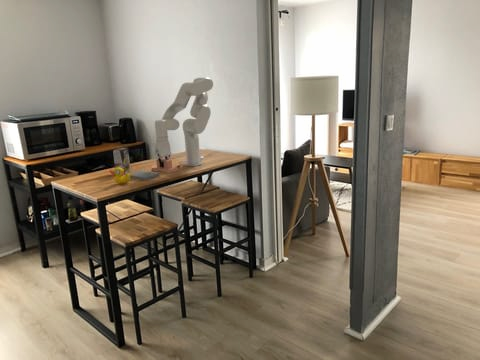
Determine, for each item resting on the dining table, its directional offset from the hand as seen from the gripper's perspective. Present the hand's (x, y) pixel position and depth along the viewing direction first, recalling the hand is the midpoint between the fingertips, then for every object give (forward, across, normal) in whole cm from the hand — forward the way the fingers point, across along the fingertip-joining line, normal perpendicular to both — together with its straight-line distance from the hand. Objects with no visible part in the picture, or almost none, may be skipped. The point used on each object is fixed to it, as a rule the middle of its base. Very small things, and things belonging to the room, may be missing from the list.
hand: (164, 166), depth 261 cm
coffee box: (+3, +18, -20) cm, 27 cm away
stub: (+3, 0, 0) cm, 3 cm away
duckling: (+3, +36, 0) cm, 36 cm away
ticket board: (+3, +19, 0) cm, 19 cm away
